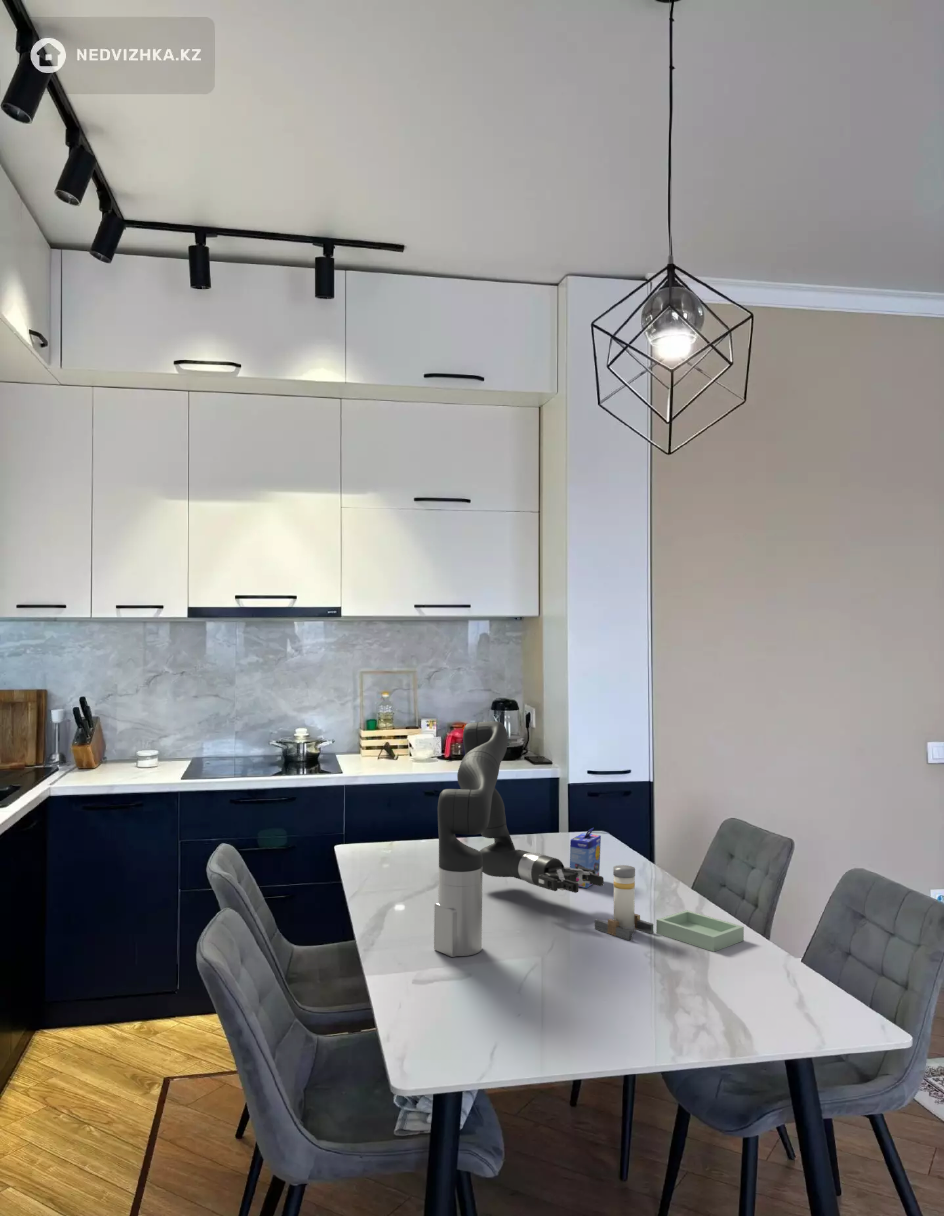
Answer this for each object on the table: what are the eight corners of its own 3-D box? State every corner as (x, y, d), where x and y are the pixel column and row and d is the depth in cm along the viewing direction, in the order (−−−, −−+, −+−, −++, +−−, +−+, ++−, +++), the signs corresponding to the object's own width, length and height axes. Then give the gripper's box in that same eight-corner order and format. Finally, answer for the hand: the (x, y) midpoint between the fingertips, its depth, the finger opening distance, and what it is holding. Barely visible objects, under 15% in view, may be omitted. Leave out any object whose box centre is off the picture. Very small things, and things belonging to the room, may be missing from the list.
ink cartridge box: (588, 889, 237) (588, 833, 237) (568, 886, 239) (568, 830, 240) (601, 880, 245) (601, 826, 246) (581, 877, 248) (582, 823, 248)
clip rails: (629, 941, 197) (629, 927, 197) (594, 929, 205) (594, 915, 205) (653, 933, 203) (653, 919, 203) (618, 921, 210) (618, 908, 210)
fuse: (625, 936, 200) (625, 872, 201) (608, 930, 204) (608, 867, 204) (639, 931, 203) (639, 868, 204) (622, 926, 207) (623, 864, 207)
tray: (713, 951, 191) (713, 937, 191) (656, 933, 202) (656, 919, 203) (743, 940, 198) (743, 926, 198) (686, 923, 210) (686, 910, 210)
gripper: (520, 859, 219) (569, 873, 207) (561, 850, 229) (610, 863, 216) (519, 891, 219) (569, 907, 207) (561, 881, 229) (610, 895, 216)
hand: (590, 885), depth 212 cm, fingers open, 8 cm apart
